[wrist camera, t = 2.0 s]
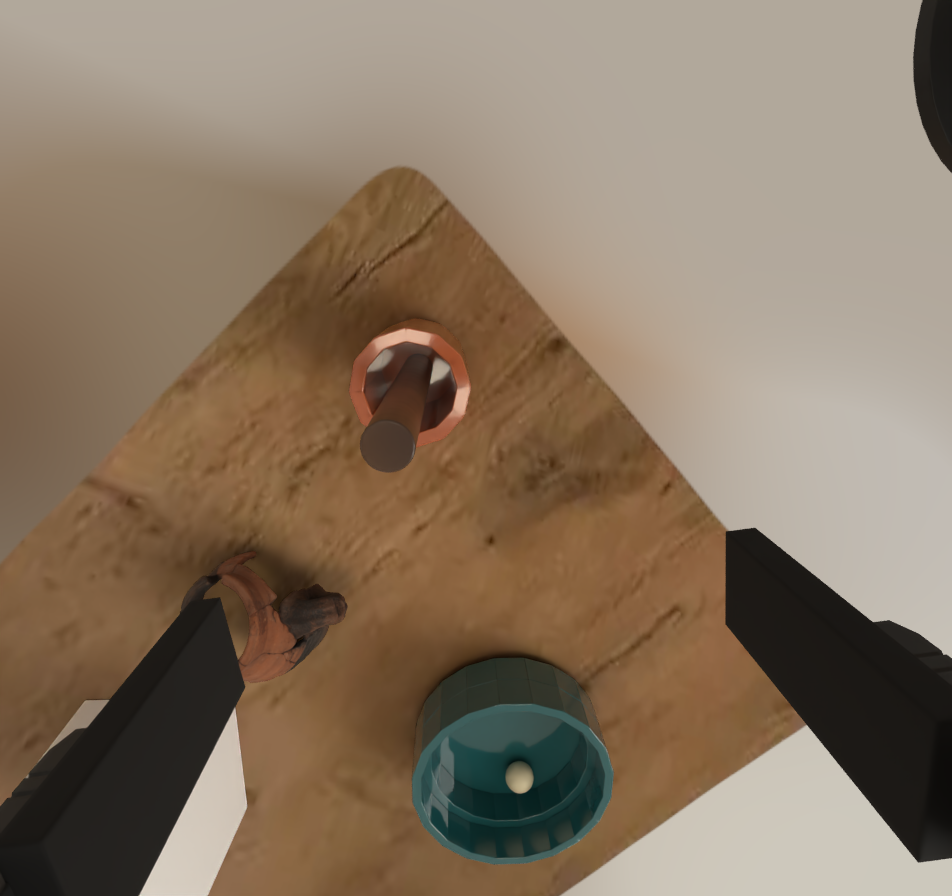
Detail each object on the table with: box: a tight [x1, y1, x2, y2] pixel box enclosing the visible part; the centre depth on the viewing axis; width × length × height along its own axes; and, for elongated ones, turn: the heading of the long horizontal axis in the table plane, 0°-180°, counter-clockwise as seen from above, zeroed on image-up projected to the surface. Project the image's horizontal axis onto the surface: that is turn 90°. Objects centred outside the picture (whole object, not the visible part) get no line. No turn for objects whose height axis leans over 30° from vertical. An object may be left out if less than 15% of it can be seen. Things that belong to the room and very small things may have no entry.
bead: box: [505, 761, 534, 793], centre depth 49 cm, size 2×2×2 cm
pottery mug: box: [180, 551, 347, 683], centre depth 42 cm, size 12×10×8 cm
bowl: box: [412, 658, 614, 865], centre depth 46 cm, size 15×15×6 cm
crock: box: [349, 318, 471, 447], centre depth 36 cm, size 7×7×9 cm
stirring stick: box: [360, 354, 433, 472], centre depth 30 cm, size 2×2×20 cm
